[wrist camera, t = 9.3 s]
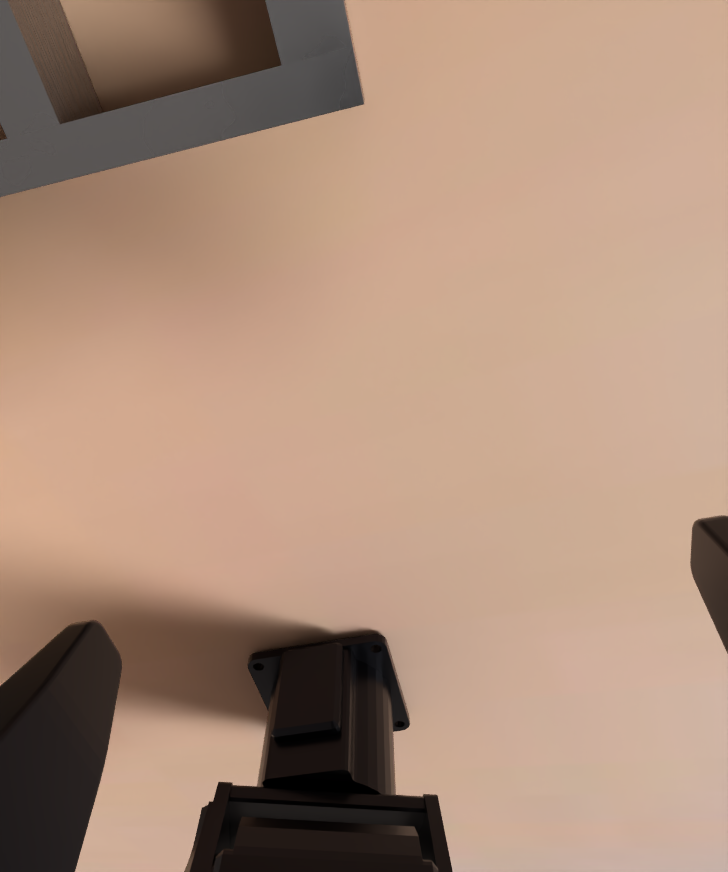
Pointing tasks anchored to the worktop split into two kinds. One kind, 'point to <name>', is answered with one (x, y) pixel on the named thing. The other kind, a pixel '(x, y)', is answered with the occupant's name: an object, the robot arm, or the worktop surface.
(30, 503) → the worktop surface
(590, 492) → the worktop surface
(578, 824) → the worktop surface
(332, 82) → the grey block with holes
